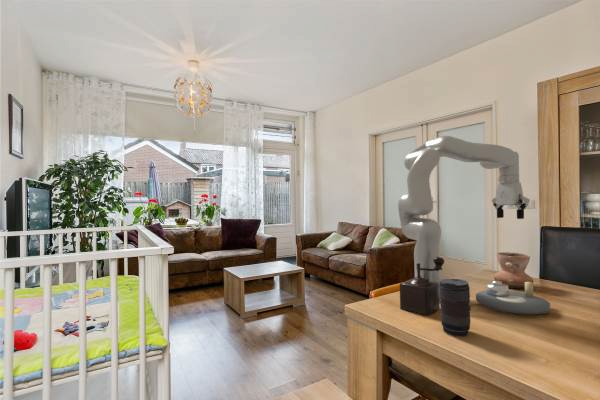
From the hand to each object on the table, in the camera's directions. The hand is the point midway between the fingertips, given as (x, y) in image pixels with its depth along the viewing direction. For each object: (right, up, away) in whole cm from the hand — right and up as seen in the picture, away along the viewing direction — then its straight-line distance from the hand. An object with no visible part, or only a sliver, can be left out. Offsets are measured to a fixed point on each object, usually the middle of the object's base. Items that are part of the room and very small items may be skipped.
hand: (510, 218), depth 138 cm
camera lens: (-47, -31, -46) cm, 73 cm away
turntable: (-17, -29, -26) cm, 43 cm away
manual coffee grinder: (-48, -31, -24) cm, 62 cm away
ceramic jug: (+2, -30, +1) cm, 31 cm away
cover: (-19, -27, -21) cm, 39 cm away
